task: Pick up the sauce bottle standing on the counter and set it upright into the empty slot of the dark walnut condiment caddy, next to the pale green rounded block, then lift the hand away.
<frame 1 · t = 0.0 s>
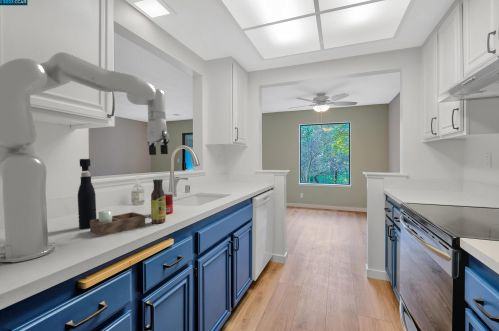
hand: (158, 154, 107), 31 cm above the worktop, tool pointing down, fingers open, 9 cm apart
walnut caddy: (118, 228, 99), on the worktop
sauce bottle: (159, 222, 107), on the worktop
black water bottle: (88, 227, 102), on the worktop
canned food: (165, 213, 125), on the worktop
pale green rounded block: (106, 231, 95), resting on walnut caddy
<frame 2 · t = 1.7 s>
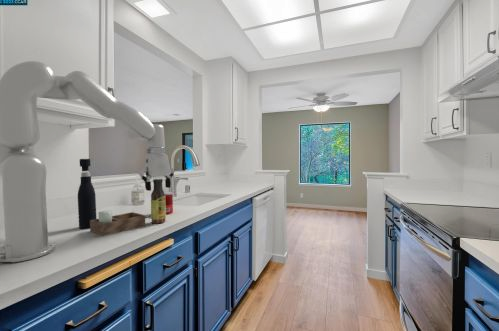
hand: (158, 188, 107), 15 cm above the worktop, tool pointing down, fingers open, 9 cm apart
nothing on the worktop moved.
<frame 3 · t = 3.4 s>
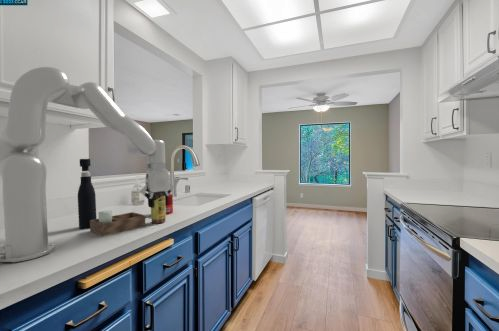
hand: (158, 205, 106), 8 cm above the worktop, tool pointing down, fingers closed on sauce bottle, 6 cm apart
sauce bottle: (159, 222, 107), on the worktop, touching gripper
everything else where it was.
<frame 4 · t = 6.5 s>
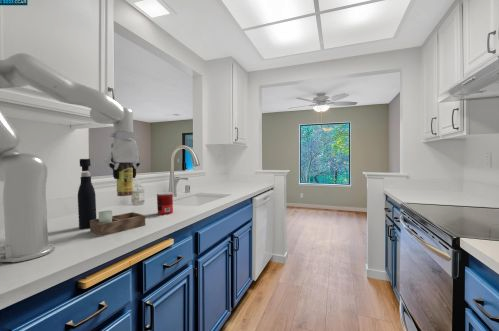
hand: (125, 178, 101), 21 cm above the worktop, tool pointing down, fingers closed on sauce bottle, 6 cm apart
sauce bottle: (125, 196, 101), point 13 cm above the worktop, touching gripper
everything else where it was.
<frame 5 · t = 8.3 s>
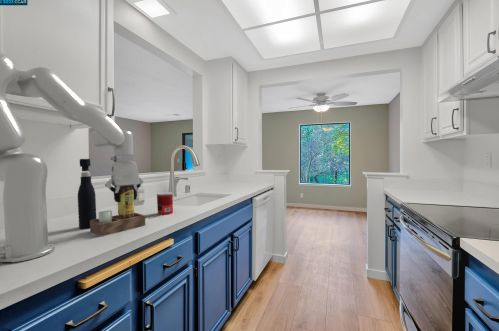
hand: (126, 200, 101), 11 cm above the worktop, tool pointing down, fingers closed on sauce bottle, 6 cm apart
sauce bottle: (126, 217, 101), point 4 cm above the worktop, touching gripper
everything else where it was.
when the fingers open (10 cm above the worktop, at t = 9.5 s): sauce bottle drops 1 cm, resting on walnut caddy.
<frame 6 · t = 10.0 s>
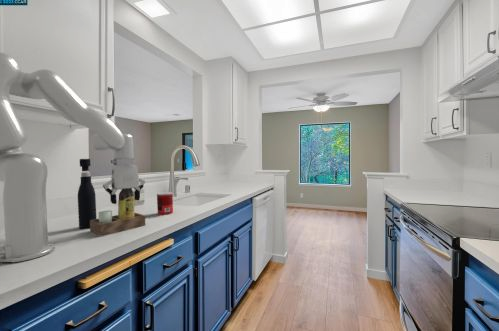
hand: (126, 201, 101), 11 cm above the worktop, tool pointing down, fingers open, 9 cm apart
sauce bottle: (126, 224, 101), point 1 cm above the worktop, touching walnut caddy
everything else where it was.
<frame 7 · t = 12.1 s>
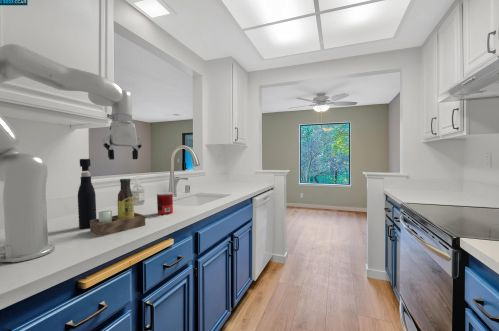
hand: (123, 159, 100), 29 cm above the worktop, tool pointing down, fingers open, 9 cm apart
nothing on the worktop moved.
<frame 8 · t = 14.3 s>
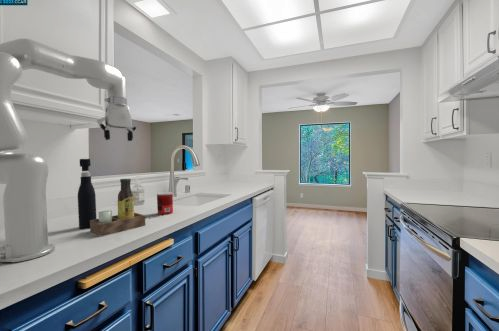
hand: (119, 140, 106), 38 cm above the worktop, tool pointing down, fingers open, 9 cm apart
nothing on the worktop moved.
at the end: sauce bottle 0.2 cm from the target spot on the walnut caddy, point 0.8 cm above the walnut caddy's base; sauce bottle tilted 0°; the gripper is holding nothing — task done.
